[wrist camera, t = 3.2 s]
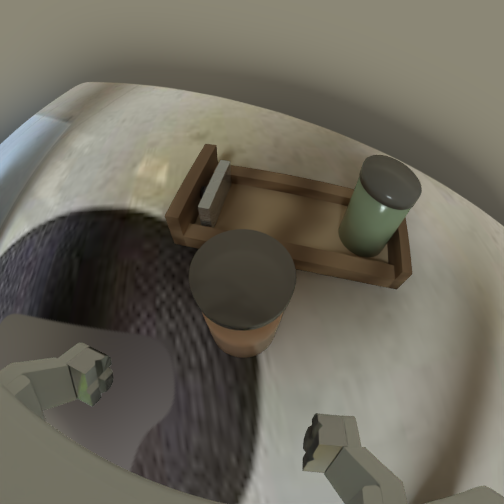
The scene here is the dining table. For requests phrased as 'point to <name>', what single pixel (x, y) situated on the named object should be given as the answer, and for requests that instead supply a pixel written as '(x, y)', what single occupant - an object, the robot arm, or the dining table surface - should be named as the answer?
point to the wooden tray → (287, 221)
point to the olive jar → (378, 205)
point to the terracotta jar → (242, 289)
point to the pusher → (215, 194)
